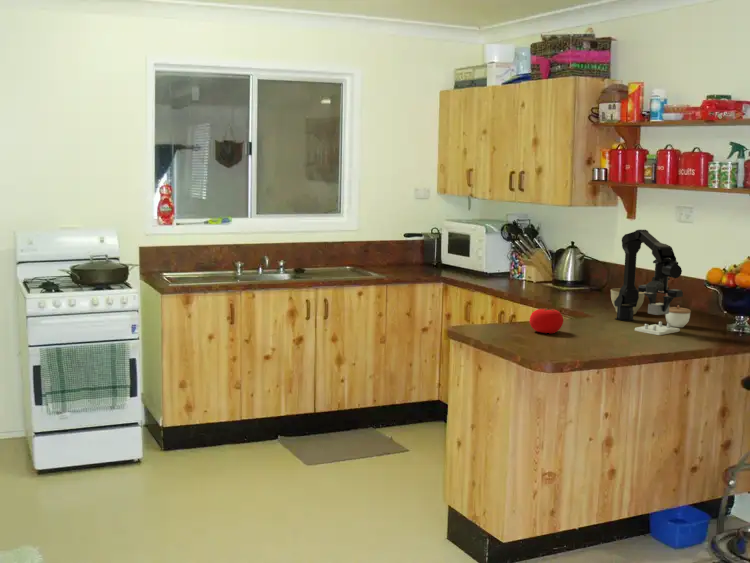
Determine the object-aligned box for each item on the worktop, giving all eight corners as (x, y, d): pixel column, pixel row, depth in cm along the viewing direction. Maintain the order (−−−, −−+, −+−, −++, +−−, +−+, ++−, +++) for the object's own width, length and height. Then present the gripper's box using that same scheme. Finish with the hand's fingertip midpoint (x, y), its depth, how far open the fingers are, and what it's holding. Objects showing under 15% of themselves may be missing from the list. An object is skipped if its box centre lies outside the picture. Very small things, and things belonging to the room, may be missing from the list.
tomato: (536, 335, 375) (538, 310, 374) (523, 329, 388) (525, 305, 386) (568, 335, 379) (570, 310, 378) (554, 329, 392) (555, 305, 390)
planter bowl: (636, 317, 429) (637, 294, 428) (603, 312, 439) (605, 290, 437) (648, 313, 442) (650, 291, 441) (616, 308, 452) (618, 287, 450)
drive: (647, 313, 394) (648, 303, 394) (659, 311, 399) (659, 302, 398) (657, 315, 390) (658, 305, 390) (668, 313, 395) (669, 304, 394)
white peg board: (634, 330, 395) (635, 323, 394) (655, 326, 405) (655, 319, 405) (659, 335, 386) (659, 327, 385) (679, 331, 396) (680, 324, 396)
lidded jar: (673, 328, 403) (674, 307, 402) (659, 324, 413) (661, 303, 412) (694, 328, 406) (695, 307, 404) (680, 323, 416) (681, 303, 415)
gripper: (631, 273, 394) (629, 308, 396) (670, 278, 380) (667, 315, 382) (646, 271, 401) (643, 306, 403) (684, 277, 387) (681, 313, 389)
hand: (658, 310), depth 394 cm, fingers closed on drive, 5 cm apart
